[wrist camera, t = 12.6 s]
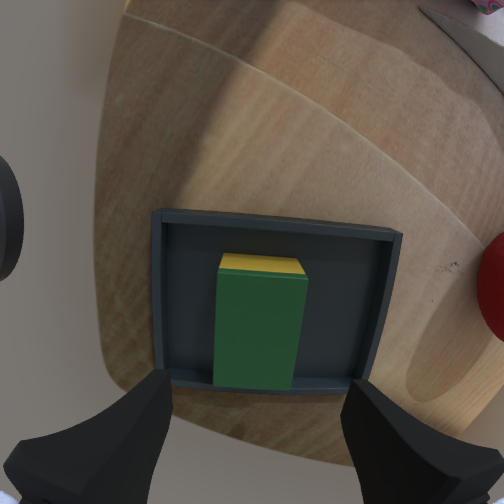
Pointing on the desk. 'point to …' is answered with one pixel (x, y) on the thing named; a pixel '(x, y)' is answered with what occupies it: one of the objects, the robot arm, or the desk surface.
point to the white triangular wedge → (474, 45)
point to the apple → (492, 286)
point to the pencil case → (488, 5)
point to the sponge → (257, 321)
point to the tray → (316, 304)
